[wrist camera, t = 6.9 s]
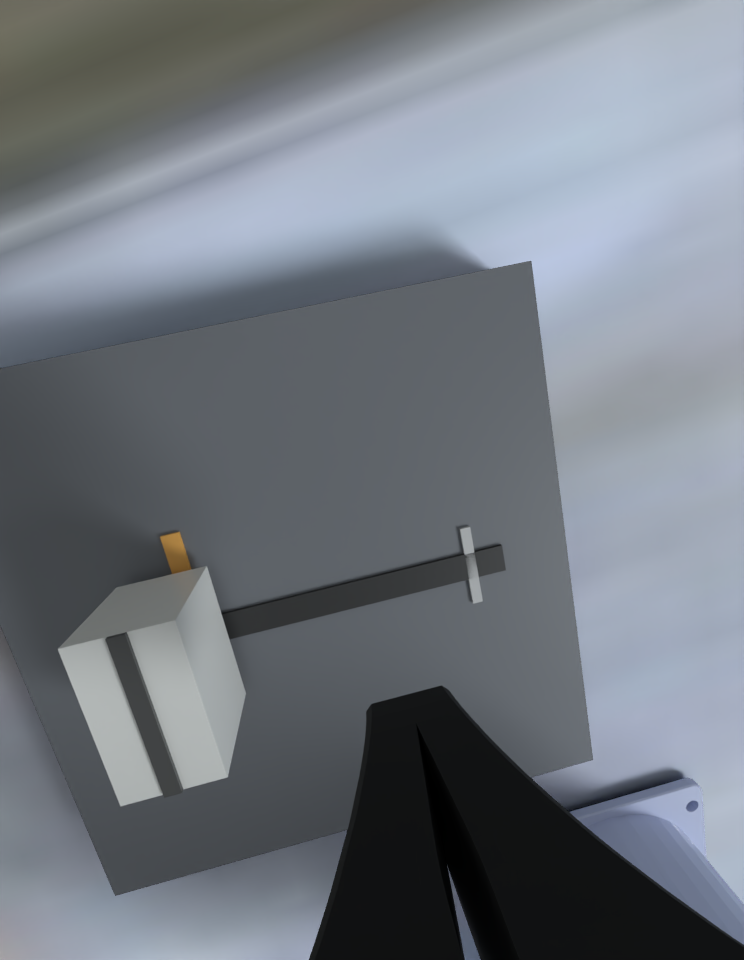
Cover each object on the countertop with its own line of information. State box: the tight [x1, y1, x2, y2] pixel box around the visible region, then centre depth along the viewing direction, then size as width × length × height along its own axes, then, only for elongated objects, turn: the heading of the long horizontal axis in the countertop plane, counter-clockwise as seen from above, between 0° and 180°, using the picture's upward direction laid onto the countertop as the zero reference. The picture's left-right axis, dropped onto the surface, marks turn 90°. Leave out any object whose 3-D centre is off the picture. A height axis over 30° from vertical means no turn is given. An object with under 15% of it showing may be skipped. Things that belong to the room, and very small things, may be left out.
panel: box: [0, 261, 593, 896], centre depth 15 cm, size 16×16×2 cm
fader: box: [58, 566, 246, 806], centre depth 12 cm, size 4×2×3 cm, turn 12°
